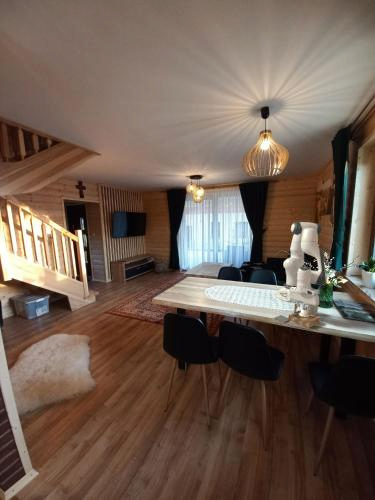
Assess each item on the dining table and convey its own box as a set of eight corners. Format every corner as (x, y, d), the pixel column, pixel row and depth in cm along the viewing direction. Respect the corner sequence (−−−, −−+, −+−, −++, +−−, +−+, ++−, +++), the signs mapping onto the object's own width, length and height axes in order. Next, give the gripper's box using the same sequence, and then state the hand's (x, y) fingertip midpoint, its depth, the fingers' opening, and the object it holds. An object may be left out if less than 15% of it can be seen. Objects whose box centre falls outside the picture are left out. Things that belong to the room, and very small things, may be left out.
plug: (296, 320, 141) (297, 308, 141) (301, 318, 145) (302, 306, 144) (305, 324, 136) (306, 311, 135) (311, 322, 139) (311, 309, 138)
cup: (317, 316, 148) (318, 304, 147) (301, 313, 153) (302, 302, 152) (317, 312, 154) (318, 301, 153) (302, 310, 159) (302, 299, 158)
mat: (274, 318, 146) (274, 317, 145) (281, 315, 150) (281, 315, 150) (284, 322, 139) (284, 321, 139) (291, 319, 143) (291, 319, 143)
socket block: (288, 320, 143) (288, 313, 142) (299, 315, 150) (299, 308, 149) (308, 328, 131) (309, 321, 130) (319, 322, 138) (320, 315, 137)
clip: (296, 315, 138) (296, 311, 137) (292, 314, 139) (292, 310, 139) (297, 307, 150) (298, 304, 150) (293, 307, 152) (294, 303, 151)
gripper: (287, 286, 152) (286, 304, 153) (316, 293, 135) (315, 313, 136) (292, 285, 156) (291, 302, 157) (320, 292, 138) (319, 311, 139)
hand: (302, 307), depth 146 cm, fingers open, 5 cm apart
